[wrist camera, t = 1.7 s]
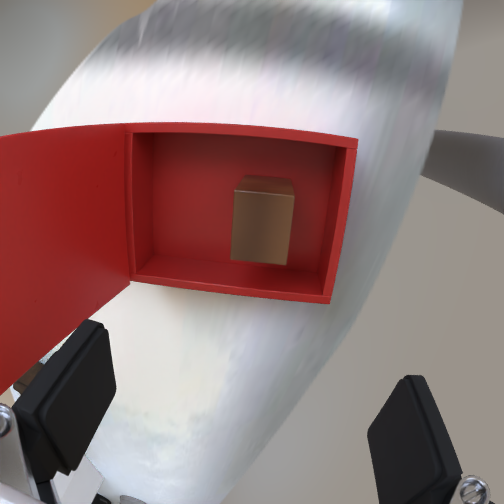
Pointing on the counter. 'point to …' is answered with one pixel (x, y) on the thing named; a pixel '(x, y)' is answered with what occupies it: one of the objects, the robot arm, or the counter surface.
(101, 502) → the pen holder
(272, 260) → the block
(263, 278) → the red shallow rectangular box
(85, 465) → the milk
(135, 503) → the glass holder
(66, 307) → the lid
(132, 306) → the counter surface
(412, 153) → the counter surface
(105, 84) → the counter surface
